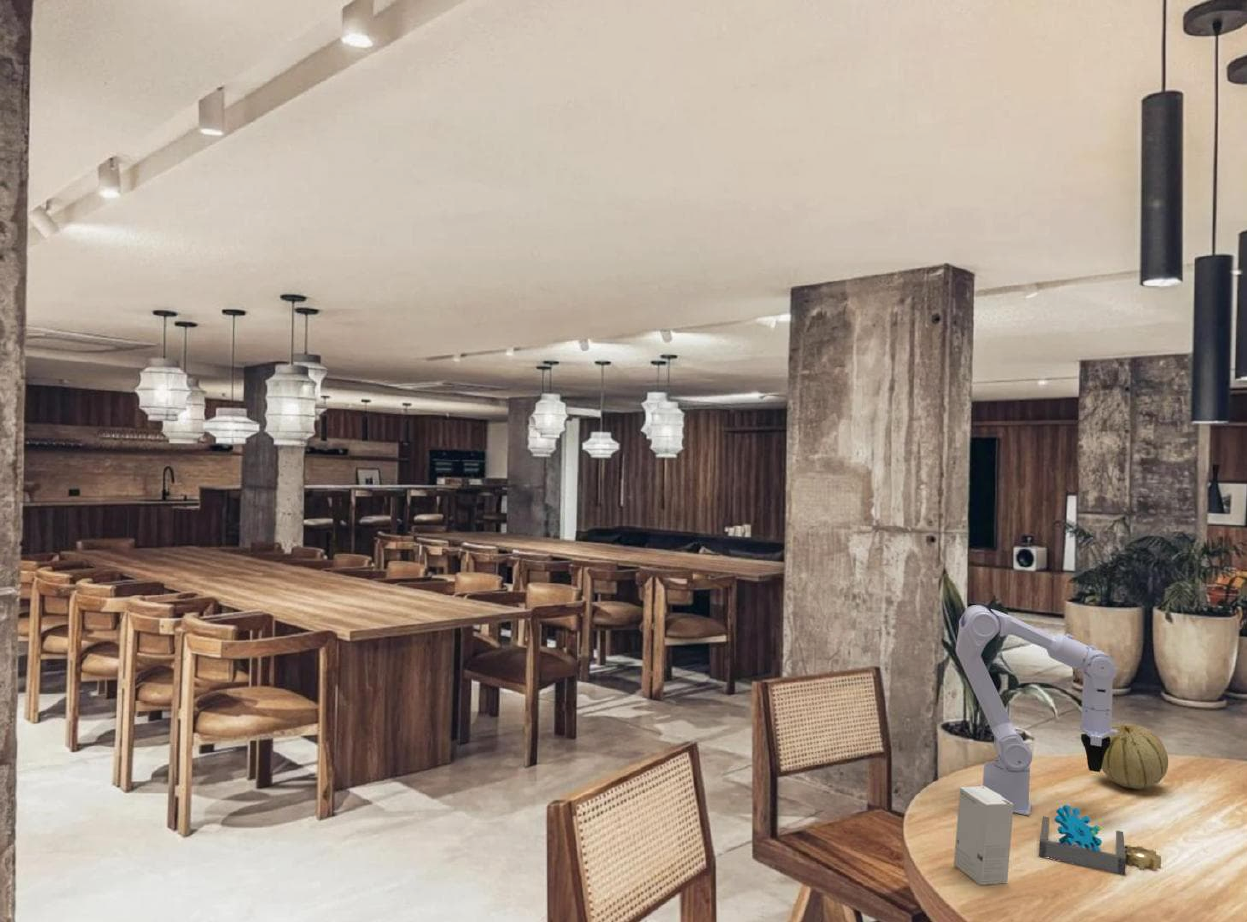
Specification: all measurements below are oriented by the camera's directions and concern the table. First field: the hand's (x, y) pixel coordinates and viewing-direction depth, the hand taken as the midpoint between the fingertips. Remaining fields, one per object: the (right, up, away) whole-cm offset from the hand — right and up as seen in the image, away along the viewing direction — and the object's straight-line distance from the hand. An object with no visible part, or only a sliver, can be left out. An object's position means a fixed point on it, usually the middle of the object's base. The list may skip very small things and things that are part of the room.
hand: (1094, 770), depth 191 cm
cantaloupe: (+19, -11, +19) cm, 29 cm away
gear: (-12, -10, -17) cm, 23 cm away
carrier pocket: (-9, -10, -20) cm, 24 cm away
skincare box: (-36, -9, -30) cm, 48 cm away
